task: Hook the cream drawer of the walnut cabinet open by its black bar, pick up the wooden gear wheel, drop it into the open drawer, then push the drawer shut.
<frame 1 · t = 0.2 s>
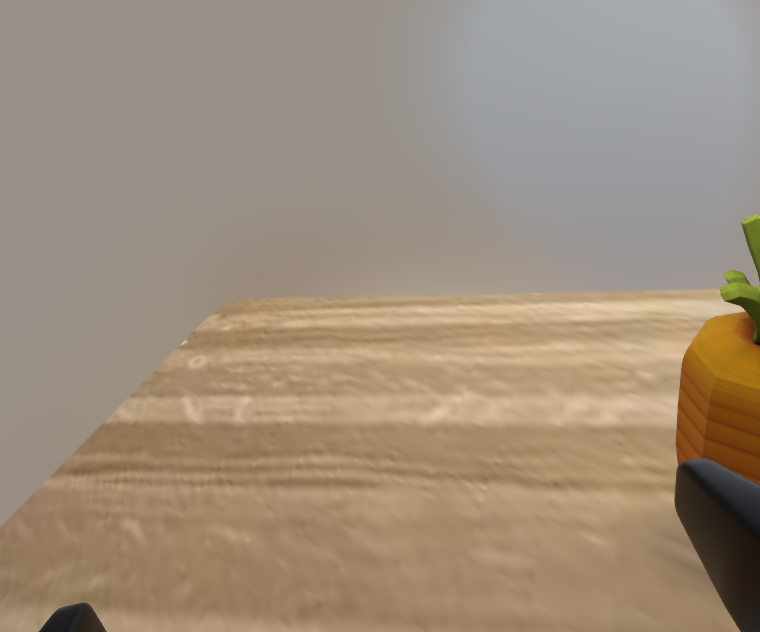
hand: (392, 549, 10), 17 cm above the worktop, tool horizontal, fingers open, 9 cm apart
carrot: (721, 562, 28), on the worktop
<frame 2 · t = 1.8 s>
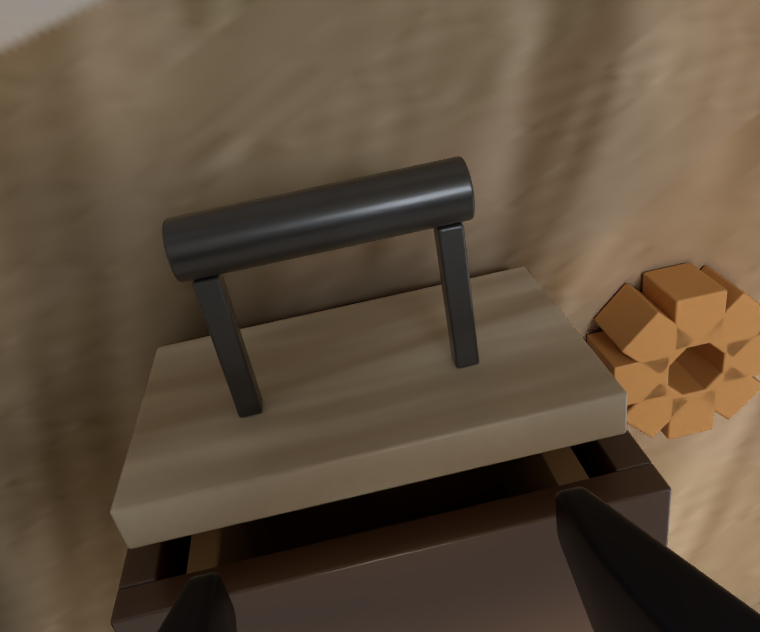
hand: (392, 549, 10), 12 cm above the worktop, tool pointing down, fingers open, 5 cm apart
cabinet: (384, 486, 25), on the worktop
wooden gear wheel: (662, 336, 24), on the worktop
drawer: (376, 457, 19), point 4 cm above the worktop, slide at 1.0 cm
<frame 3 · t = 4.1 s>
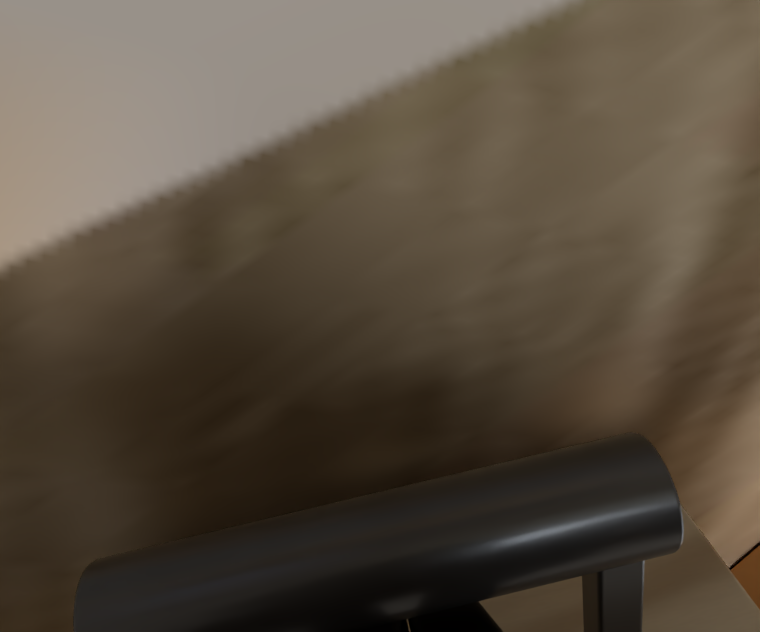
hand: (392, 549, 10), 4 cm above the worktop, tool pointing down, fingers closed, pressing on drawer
when the fingers open (9 cm above the worktop, at t = 15.7 s): wooden gear wheel drops 3 cm and tips over, resting on drawer.
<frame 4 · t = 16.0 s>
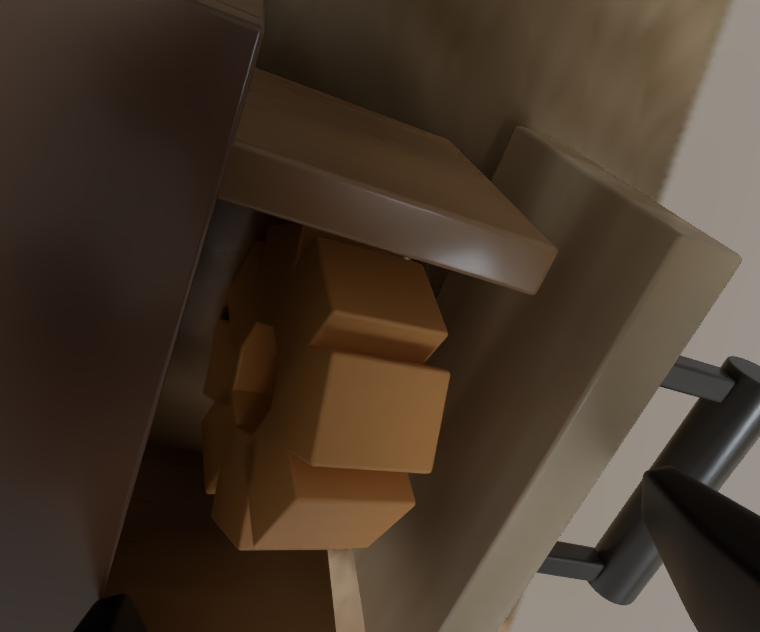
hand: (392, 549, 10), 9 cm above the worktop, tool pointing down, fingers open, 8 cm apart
wooden gear wheel: (358, 391, 13), point 5 cm above the worktop, tilted 77°, touching drawer
drawer: (365, 393, 14), point 4 cm above the worktop, slide at 6.1 cm, touching wooden gear wheel
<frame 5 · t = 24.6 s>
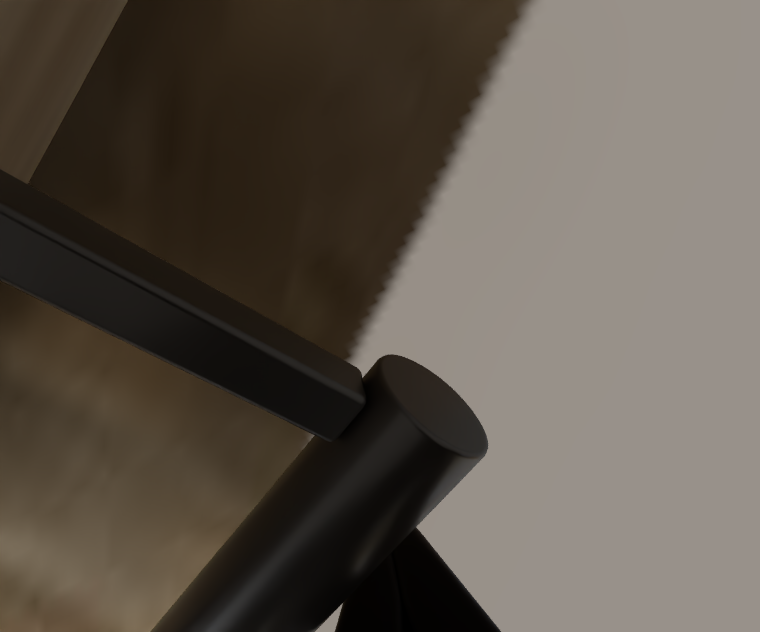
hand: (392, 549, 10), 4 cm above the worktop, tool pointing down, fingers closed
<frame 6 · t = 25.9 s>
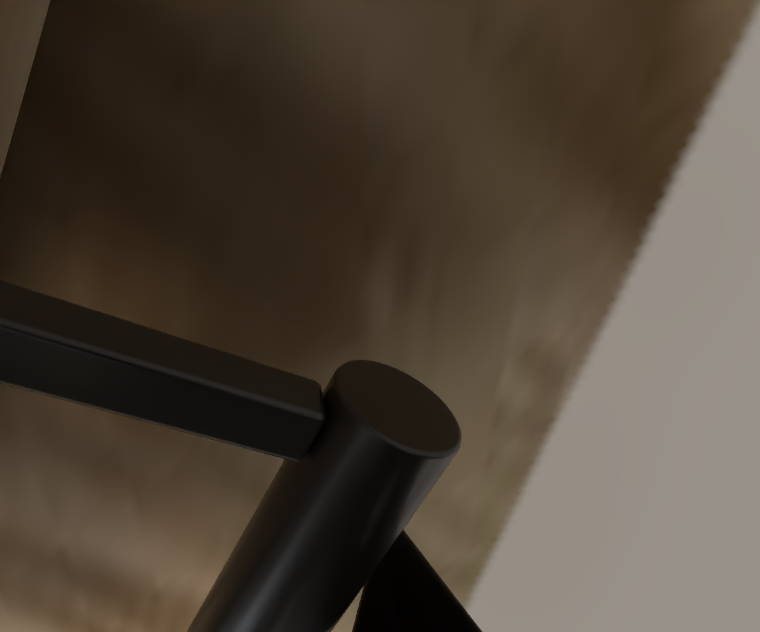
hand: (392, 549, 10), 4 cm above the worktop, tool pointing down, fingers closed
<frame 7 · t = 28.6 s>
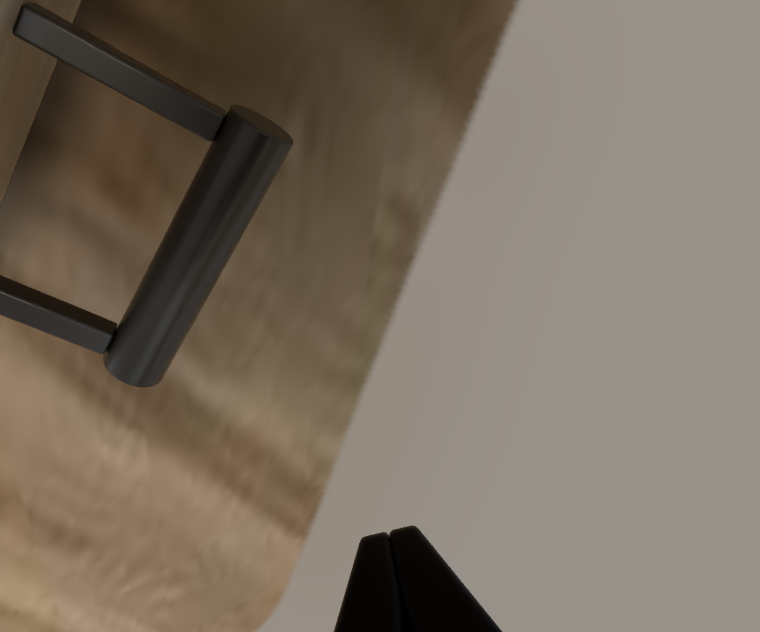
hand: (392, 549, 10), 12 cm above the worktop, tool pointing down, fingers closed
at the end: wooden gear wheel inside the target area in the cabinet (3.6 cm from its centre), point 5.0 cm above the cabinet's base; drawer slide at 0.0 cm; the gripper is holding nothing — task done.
